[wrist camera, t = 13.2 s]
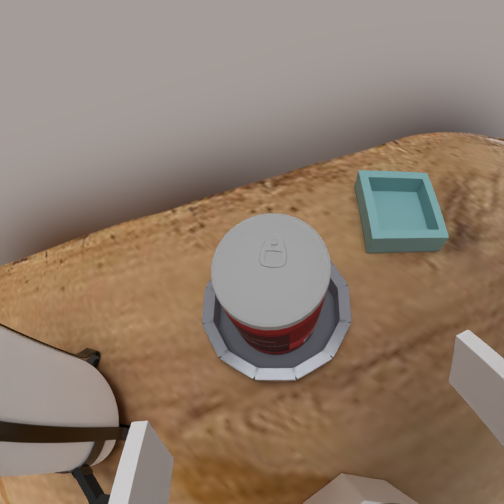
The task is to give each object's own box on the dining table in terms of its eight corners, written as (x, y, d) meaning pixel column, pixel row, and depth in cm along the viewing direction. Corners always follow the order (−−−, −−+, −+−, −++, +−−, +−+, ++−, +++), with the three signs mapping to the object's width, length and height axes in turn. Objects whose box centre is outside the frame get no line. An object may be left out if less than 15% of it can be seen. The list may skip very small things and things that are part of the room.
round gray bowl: (339, 253, 32) (343, 239, 29) (347, 379, 25) (353, 377, 23) (216, 256, 33) (210, 242, 30) (206, 379, 27) (197, 376, 24)
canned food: (307, 269, 31) (314, 202, 21) (325, 347, 27) (346, 313, 17) (231, 284, 31) (205, 223, 21) (243, 362, 27) (216, 338, 17)
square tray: (420, 188, 34) (427, 173, 32) (438, 251, 30) (448, 237, 28) (354, 187, 35) (358, 170, 33) (366, 252, 31) (372, 238, 29)
